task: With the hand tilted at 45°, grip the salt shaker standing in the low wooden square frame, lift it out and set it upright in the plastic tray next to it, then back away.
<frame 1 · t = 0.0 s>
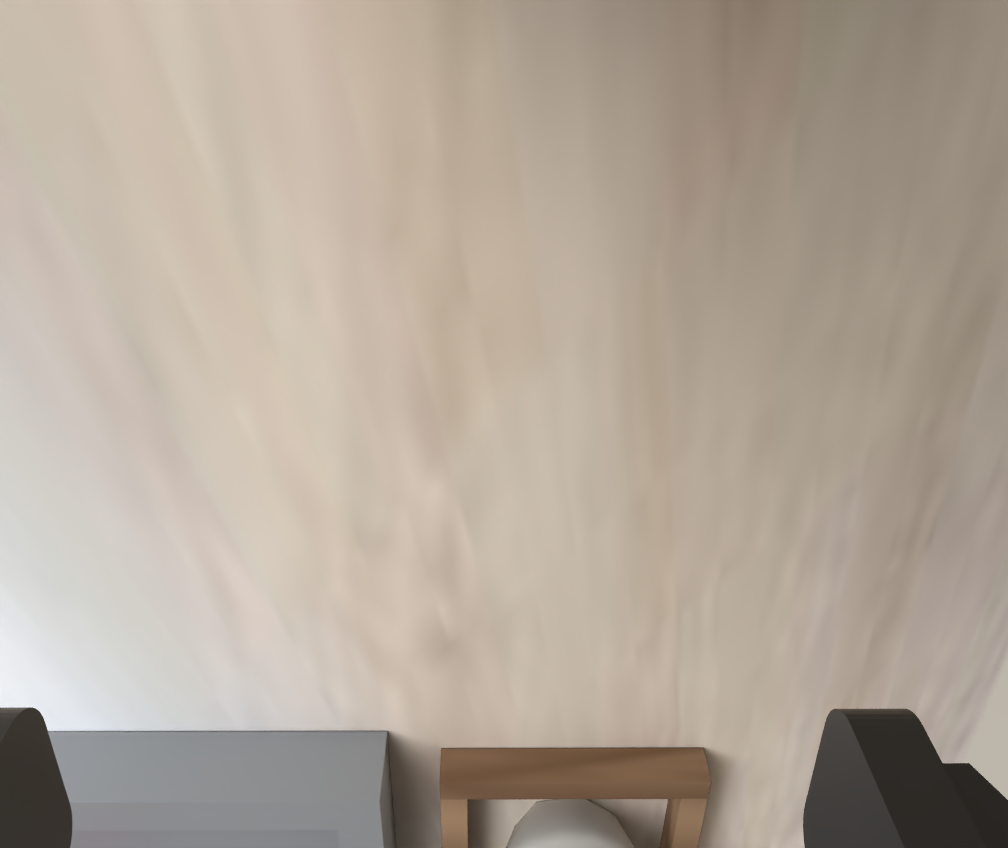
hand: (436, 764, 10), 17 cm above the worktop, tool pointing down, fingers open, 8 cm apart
tray: (177, 844, 39), on the worktop
wooden square frame: (566, 827, 39), on the worktop
salt shaker: (565, 823, 39), resting in wooden square frame
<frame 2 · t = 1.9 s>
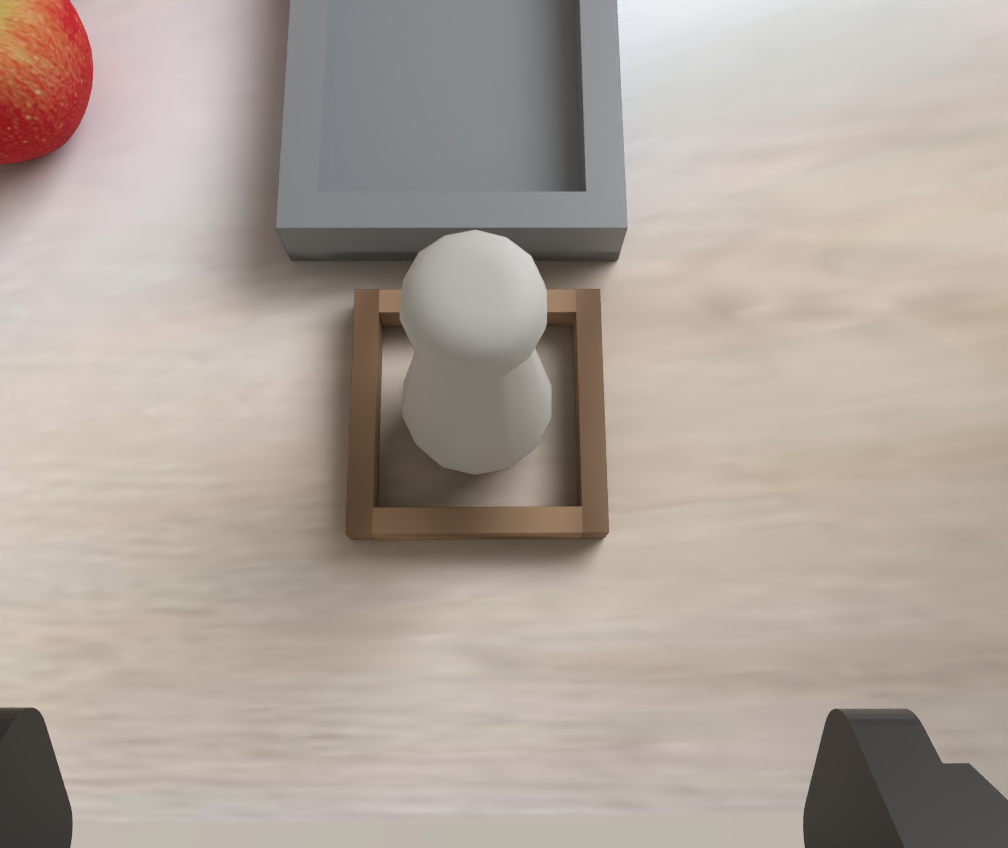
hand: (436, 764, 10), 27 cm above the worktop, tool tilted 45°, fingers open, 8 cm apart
tray: (456, 78, 43), on the worktop
wooden square frame: (478, 417, 39), on the worktop
apple: (31, 119, 43), on the worktop
salt shaker: (478, 418, 39), resting in wooden square frame
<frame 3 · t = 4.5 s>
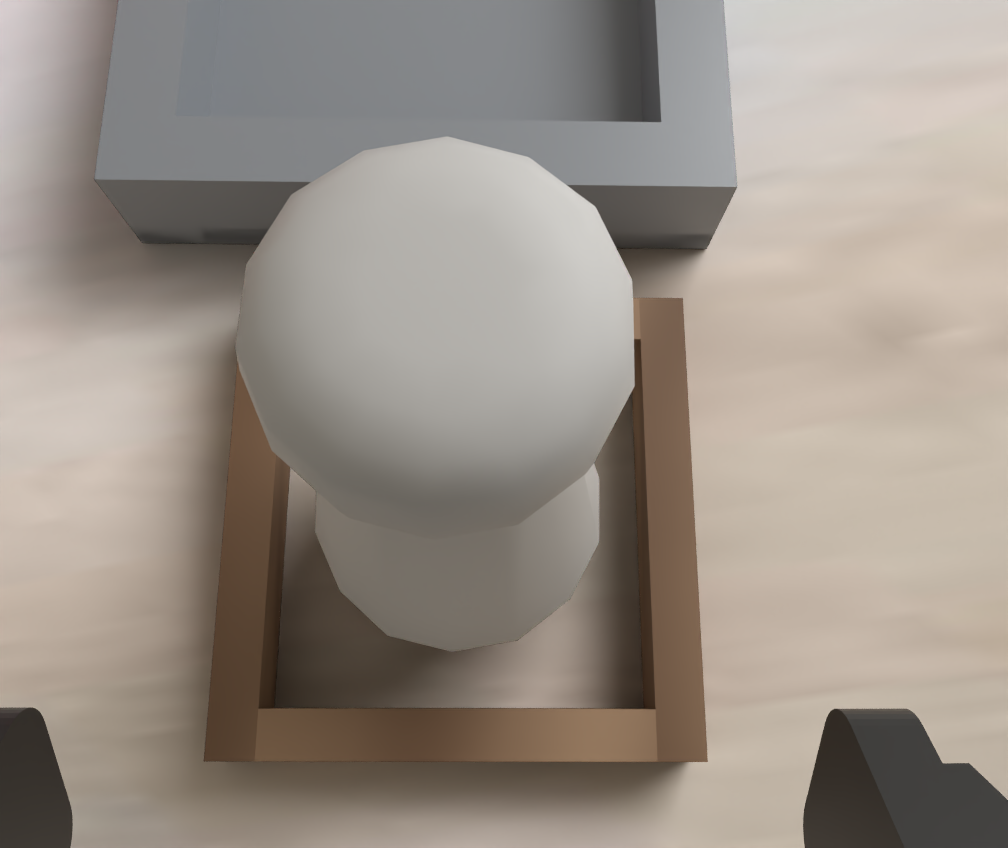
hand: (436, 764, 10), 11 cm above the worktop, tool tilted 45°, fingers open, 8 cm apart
wooden square frame: (462, 525, 22), on the worktop
salt shaker: (462, 526, 22), resting in wooden square frame
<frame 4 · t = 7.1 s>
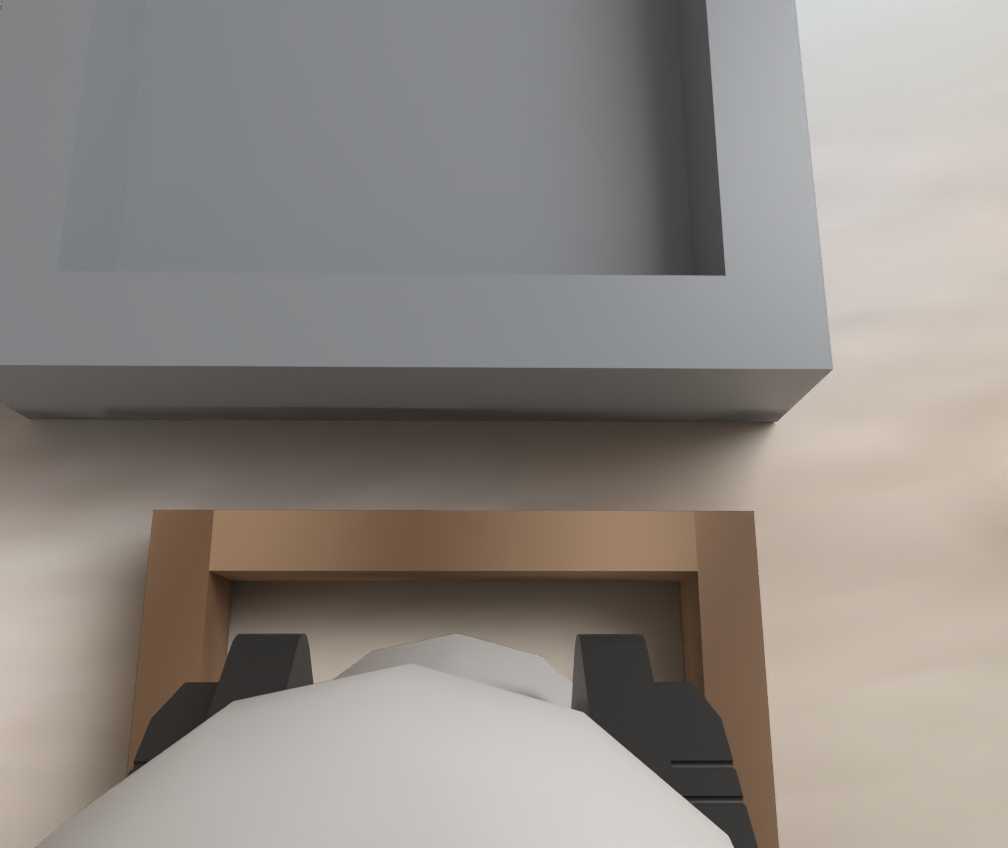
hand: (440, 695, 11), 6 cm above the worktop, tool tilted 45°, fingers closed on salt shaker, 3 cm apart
tray: (416, 15, 20), on the worktop
wooden square frame: (454, 821, 16), on the worktop
salt shaker: (454, 819, 16), resting in wooden square frame, touching gripper
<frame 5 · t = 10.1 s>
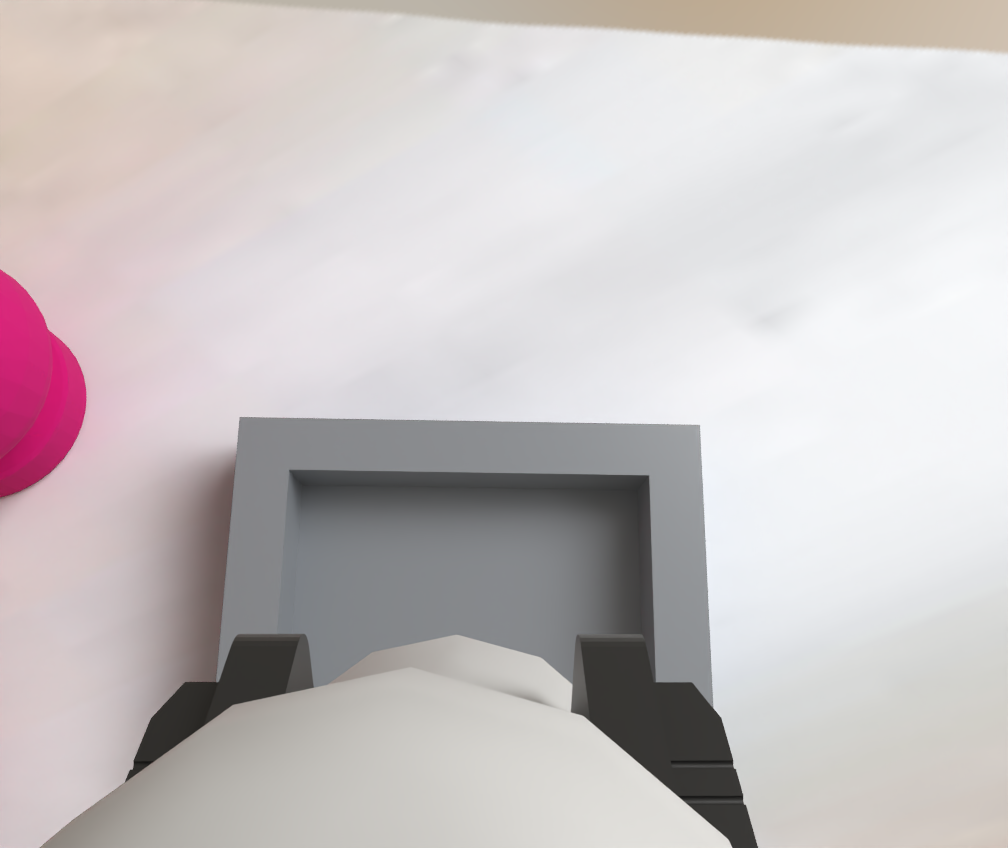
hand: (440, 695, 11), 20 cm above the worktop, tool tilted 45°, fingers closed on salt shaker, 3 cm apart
tray: (465, 727, 29), on the worktop
salt shaker: (454, 820, 16), point 13 cm above the worktop, touching gripper
when the fingers open (8 cm above the worktop, at t = 13.1 s): salt shaker drops 1 cm, resting on tray.
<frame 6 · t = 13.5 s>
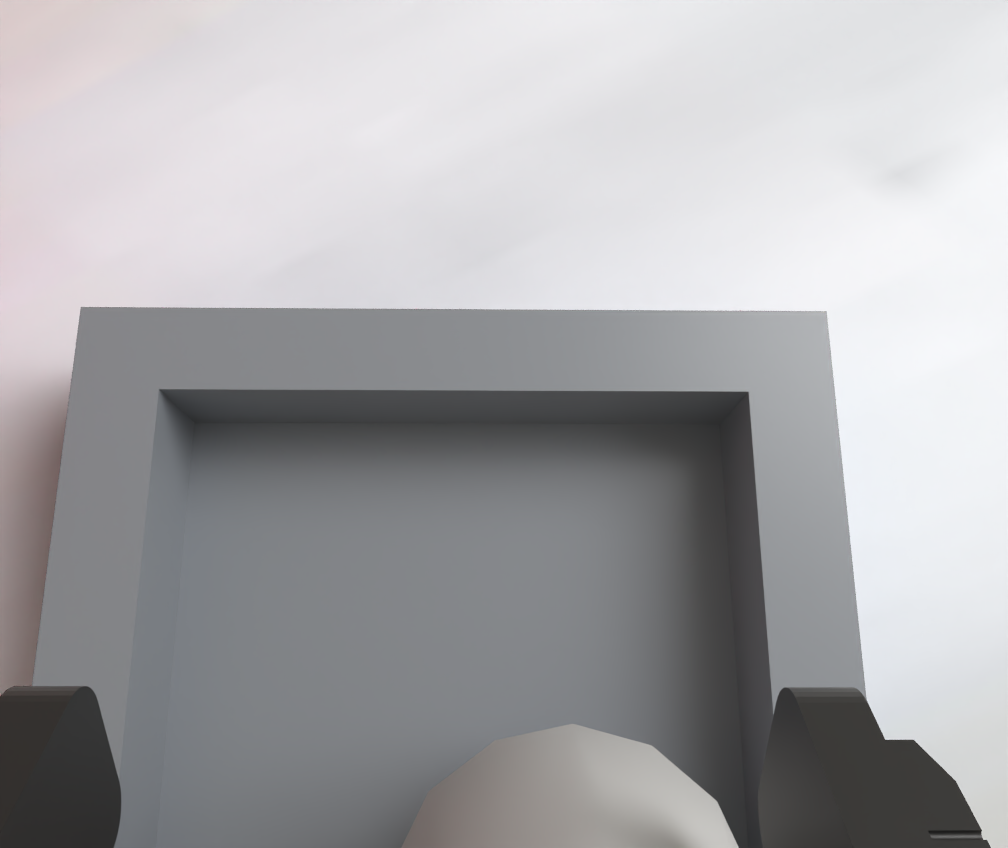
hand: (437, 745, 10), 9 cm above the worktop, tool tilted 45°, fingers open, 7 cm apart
tray: (455, 804, 18), on the worktop
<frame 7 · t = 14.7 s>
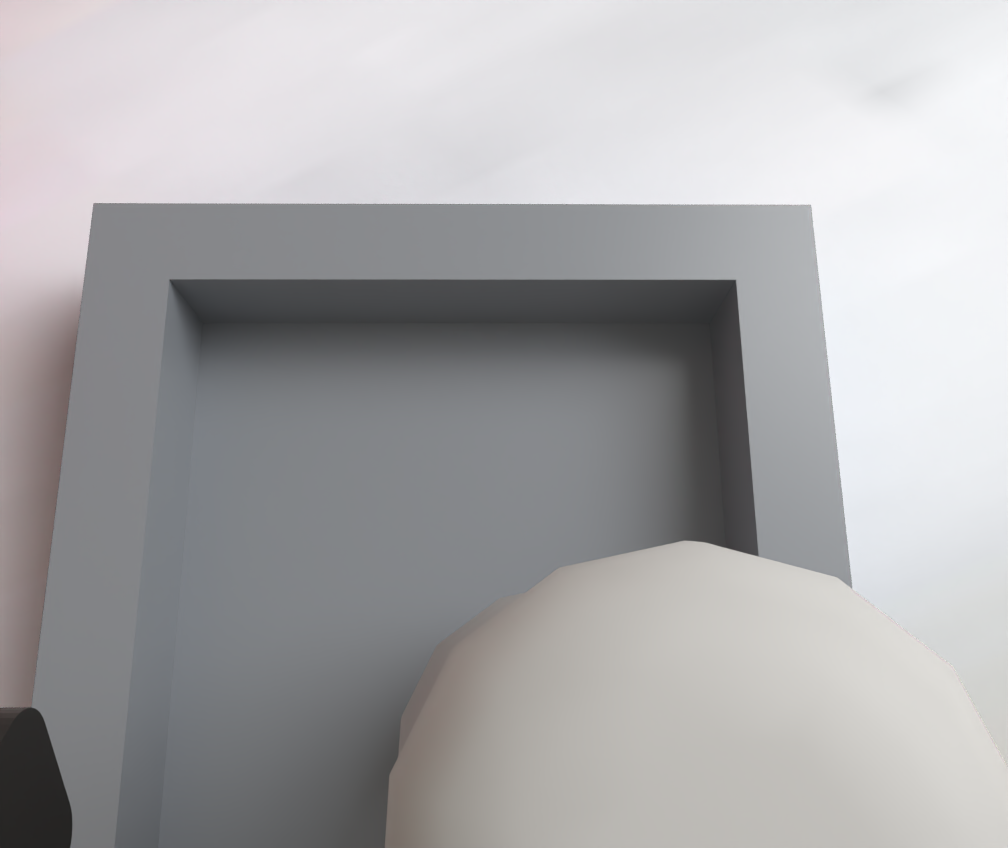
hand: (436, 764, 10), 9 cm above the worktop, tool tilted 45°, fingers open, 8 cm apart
tray: (456, 683, 19), on the worktop
salt shaker: (561, 753, 18), point 1 cm above the worktop, touching tray
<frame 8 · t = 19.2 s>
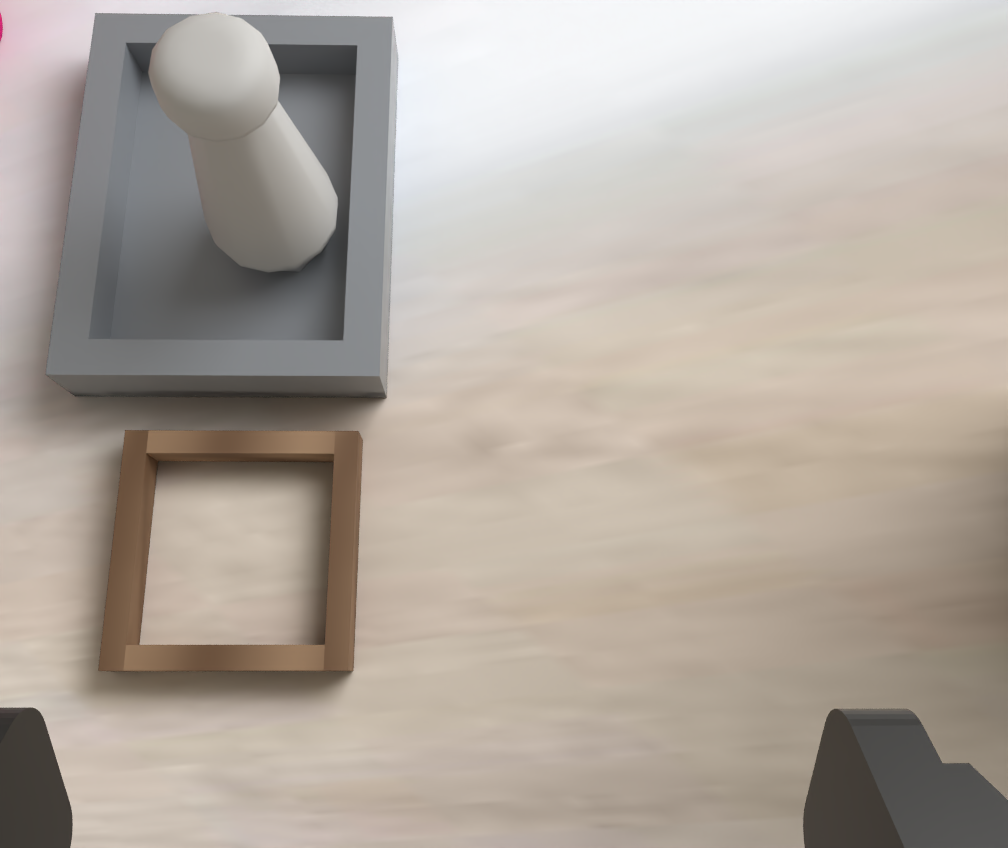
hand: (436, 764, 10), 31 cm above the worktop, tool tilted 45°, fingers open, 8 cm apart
tray: (245, 217, 45), on the worktop
wooden square frame: (242, 551, 41), on the worktop
salt shaker: (284, 236, 44), point 1 cm above the worktop, touching tray
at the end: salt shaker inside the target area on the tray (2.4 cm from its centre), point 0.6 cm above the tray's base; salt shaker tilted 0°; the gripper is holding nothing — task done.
